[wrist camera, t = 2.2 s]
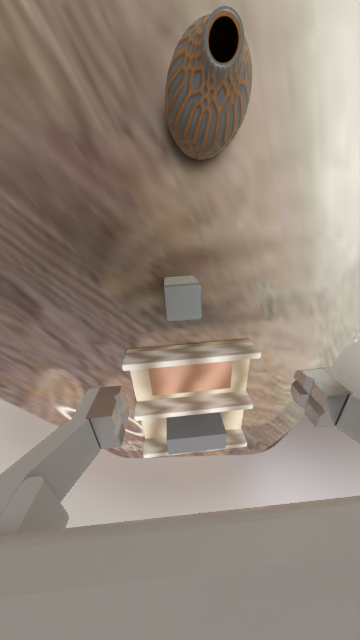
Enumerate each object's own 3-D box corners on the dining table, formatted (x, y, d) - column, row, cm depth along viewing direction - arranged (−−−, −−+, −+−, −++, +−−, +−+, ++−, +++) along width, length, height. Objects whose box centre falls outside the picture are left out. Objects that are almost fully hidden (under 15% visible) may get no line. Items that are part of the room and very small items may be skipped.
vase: (218, 179, 20) (252, 137, 12) (158, 156, 19) (153, 93, 11) (242, 96, 18) (305, -26, 10) (175, 64, 16) (183, -105, 8)
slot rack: (146, 436, 37) (144, 458, 34) (127, 349, 28) (121, 365, 25) (238, 426, 38) (246, 446, 34) (249, 338, 29) (261, 352, 26)
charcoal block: (168, 427, 35) (168, 454, 30) (166, 413, 33) (166, 440, 29) (217, 421, 35) (225, 448, 31) (218, 407, 34) (226, 433, 29)
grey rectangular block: (167, 304, 26) (167, 321, 20) (164, 277, 24) (163, 287, 19) (194, 302, 26) (201, 318, 21) (193, 275, 24) (201, 284, 19)
